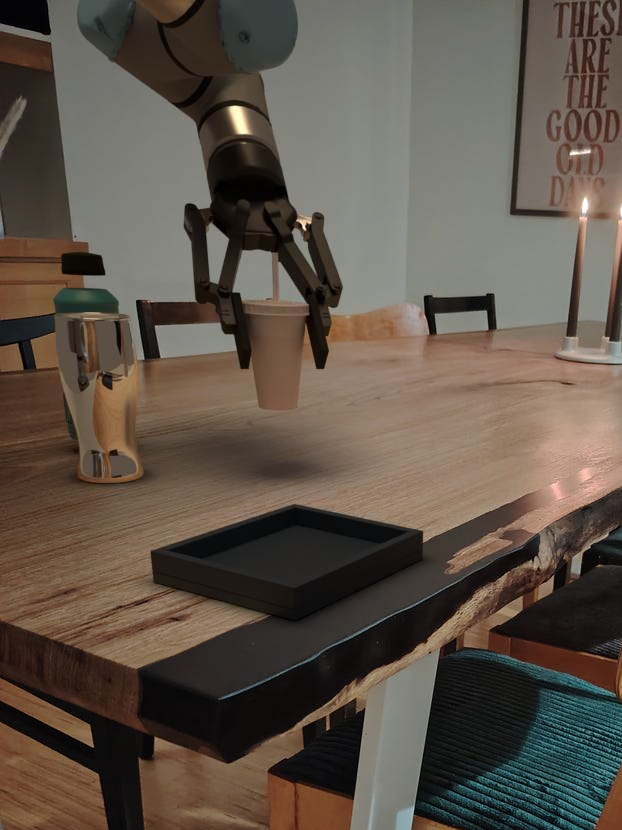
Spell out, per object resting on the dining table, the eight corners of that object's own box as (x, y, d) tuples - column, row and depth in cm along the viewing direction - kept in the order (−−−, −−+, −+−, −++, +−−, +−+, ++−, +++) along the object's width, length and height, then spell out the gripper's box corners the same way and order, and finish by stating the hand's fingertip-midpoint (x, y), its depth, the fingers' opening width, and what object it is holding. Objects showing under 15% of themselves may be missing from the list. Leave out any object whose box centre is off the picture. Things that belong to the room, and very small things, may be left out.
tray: (295, 621, 59) (294, 587, 59) (153, 582, 65) (149, 550, 64) (422, 558, 72) (423, 530, 71) (295, 530, 77) (294, 503, 77)
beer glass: (153, 468, 95) (138, 313, 89) (142, 484, 88) (126, 319, 82) (81, 467, 93) (61, 310, 87) (65, 484, 87) (42, 317, 81)
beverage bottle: (60, 447, 101) (34, 249, 93) (120, 441, 105) (99, 251, 97) (84, 459, 97) (58, 252, 89) (145, 452, 101) (126, 254, 93)
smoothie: (251, 413, 87) (245, 251, 81) (238, 402, 92) (231, 249, 86) (318, 412, 89) (316, 255, 84) (302, 401, 94) (299, 253, 89)
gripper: (331, 207, 100) (376, 384, 93) (142, 193, 92) (174, 385, 85) (345, 148, 93) (394, 334, 86) (142, 129, 86) (177, 331, 79)
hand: (284, 359), depth 86 cm, fingers closed on smoothie, 6 cm apart
